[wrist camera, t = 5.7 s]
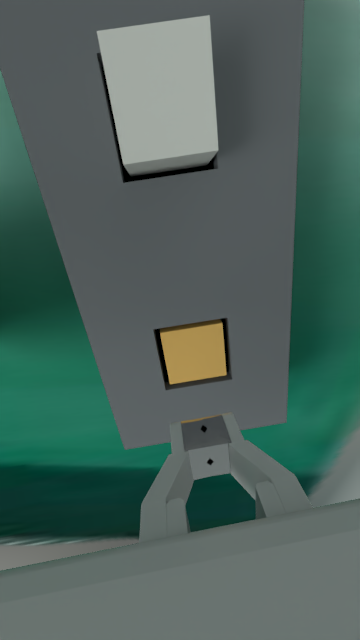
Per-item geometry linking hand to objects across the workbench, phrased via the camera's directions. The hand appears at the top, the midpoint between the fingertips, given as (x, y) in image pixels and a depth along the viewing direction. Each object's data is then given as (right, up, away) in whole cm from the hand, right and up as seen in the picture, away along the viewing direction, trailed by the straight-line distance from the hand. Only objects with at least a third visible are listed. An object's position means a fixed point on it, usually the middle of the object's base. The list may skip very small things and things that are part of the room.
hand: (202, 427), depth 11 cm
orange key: (0, +4, +9) cm, 10 cm away
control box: (-1, +11, +9) cm, 14 cm away
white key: (-2, +16, +1) cm, 16 cm away
